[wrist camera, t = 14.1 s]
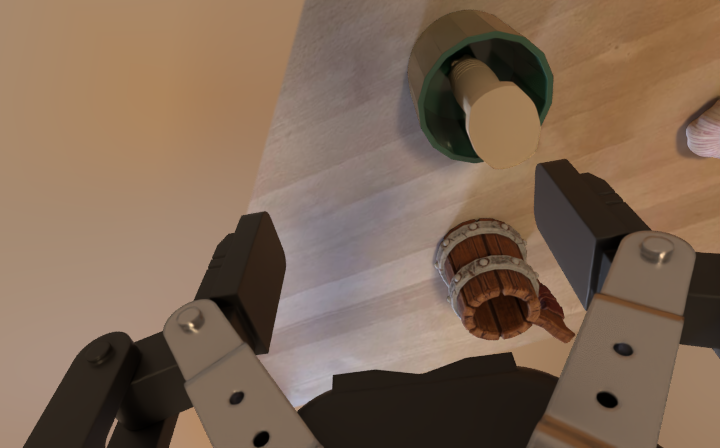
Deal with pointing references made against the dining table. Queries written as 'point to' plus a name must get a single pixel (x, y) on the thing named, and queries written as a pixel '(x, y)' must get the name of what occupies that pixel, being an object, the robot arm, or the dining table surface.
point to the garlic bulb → (705, 133)
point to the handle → (495, 114)
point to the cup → (485, 43)
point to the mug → (496, 283)
